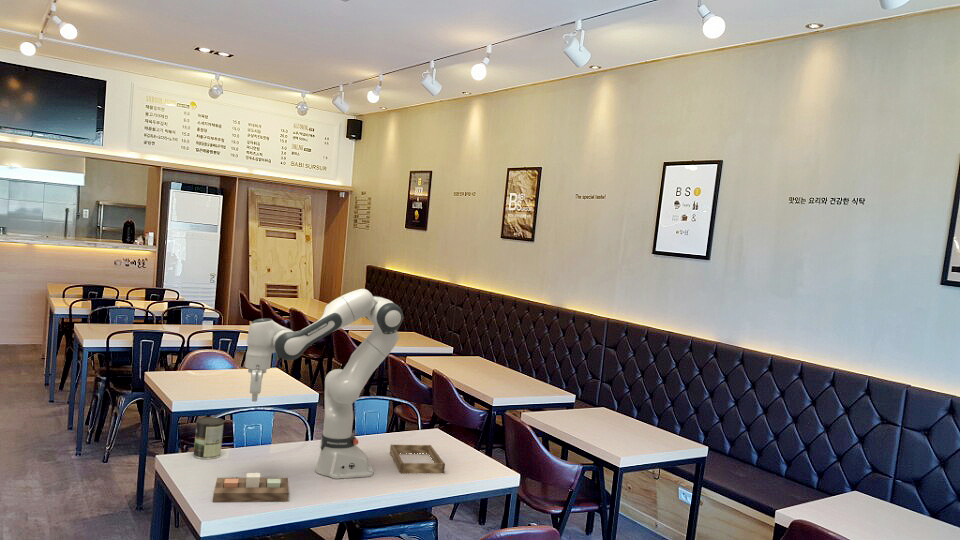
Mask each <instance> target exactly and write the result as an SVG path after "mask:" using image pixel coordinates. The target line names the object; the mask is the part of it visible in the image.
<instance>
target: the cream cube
mask: <svg viewBox="0 0 960 540" xmlns="http://www.w3.org/2000/svg"><path fill="white" fill-rule="evenodd" d="M245 478H246V488H259V482H260V478H261V473H260V472H247V473H246V477H245Z"/></svg>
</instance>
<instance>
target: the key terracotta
mask: <svg viewBox="0 0 960 540" xmlns="http://www.w3.org/2000/svg"><path fill="white" fill-rule="evenodd" d="M224 488H238V479H225V481H224Z"/></svg>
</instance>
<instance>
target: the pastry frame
mask: <svg viewBox="0 0 960 540" xmlns="http://www.w3.org/2000/svg"><path fill="white" fill-rule="evenodd" d="M400 453H401V454H400ZM406 453H407V454H406ZM408 453H412V454H414V453H415V454H417V453H418V454H419V453H421V454H422V453H424V454H426V453H427V454H429V455H430V457H431V458H432V459H431V458H430V457H429V458H430V459H431V461H432V460H433V461H434V462H433V461H432V462H403V460H402V458H401V456H400V455H409V454H408ZM390 454H391V455H390ZM389 455H390V457H391V456H392V457H391V458H393V459H392V460H394V461H393V462H395V463H394V464H395V467H396V468H397V470H398V473H401V474H400V475H402V473H403V474H404V473H406V474H407V473H408V474H409V473H416V475H417V473H444V474H445V467H446V464H445V462H444V461H443V459H442V458H441V457H440V454H438V453H437V451H436V450H435V449H434V447H433V446H432V445H431V444H390V447H389ZM429 455H428V456H429ZM408 474H407V475H408Z"/></svg>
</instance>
